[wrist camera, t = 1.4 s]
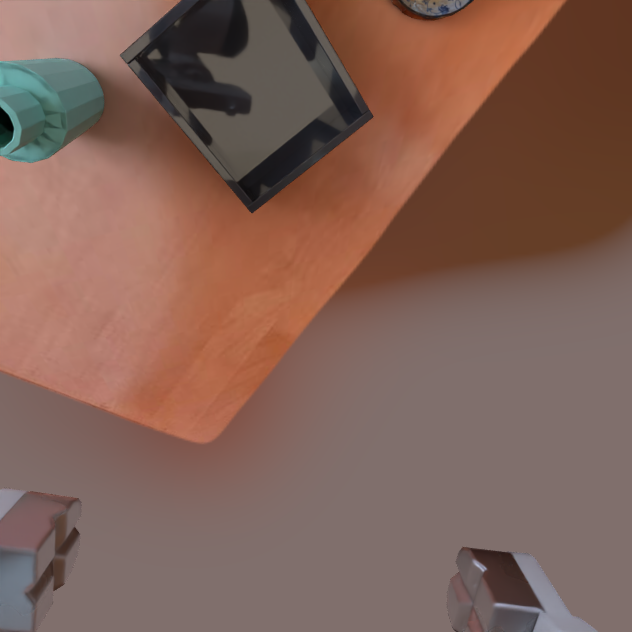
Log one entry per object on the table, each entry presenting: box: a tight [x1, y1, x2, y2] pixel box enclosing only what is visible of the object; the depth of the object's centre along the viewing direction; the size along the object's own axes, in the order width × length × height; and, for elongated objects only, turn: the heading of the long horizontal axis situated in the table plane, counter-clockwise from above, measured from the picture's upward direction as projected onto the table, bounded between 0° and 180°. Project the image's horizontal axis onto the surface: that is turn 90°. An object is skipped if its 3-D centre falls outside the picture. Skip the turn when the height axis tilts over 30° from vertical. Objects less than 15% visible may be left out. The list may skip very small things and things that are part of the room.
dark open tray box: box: [120, 0, 373, 213], centre depth 44 cm, size 17×15×6 cm
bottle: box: [0, 58, 104, 163], centre depth 35 cm, size 6×6×20 cm
